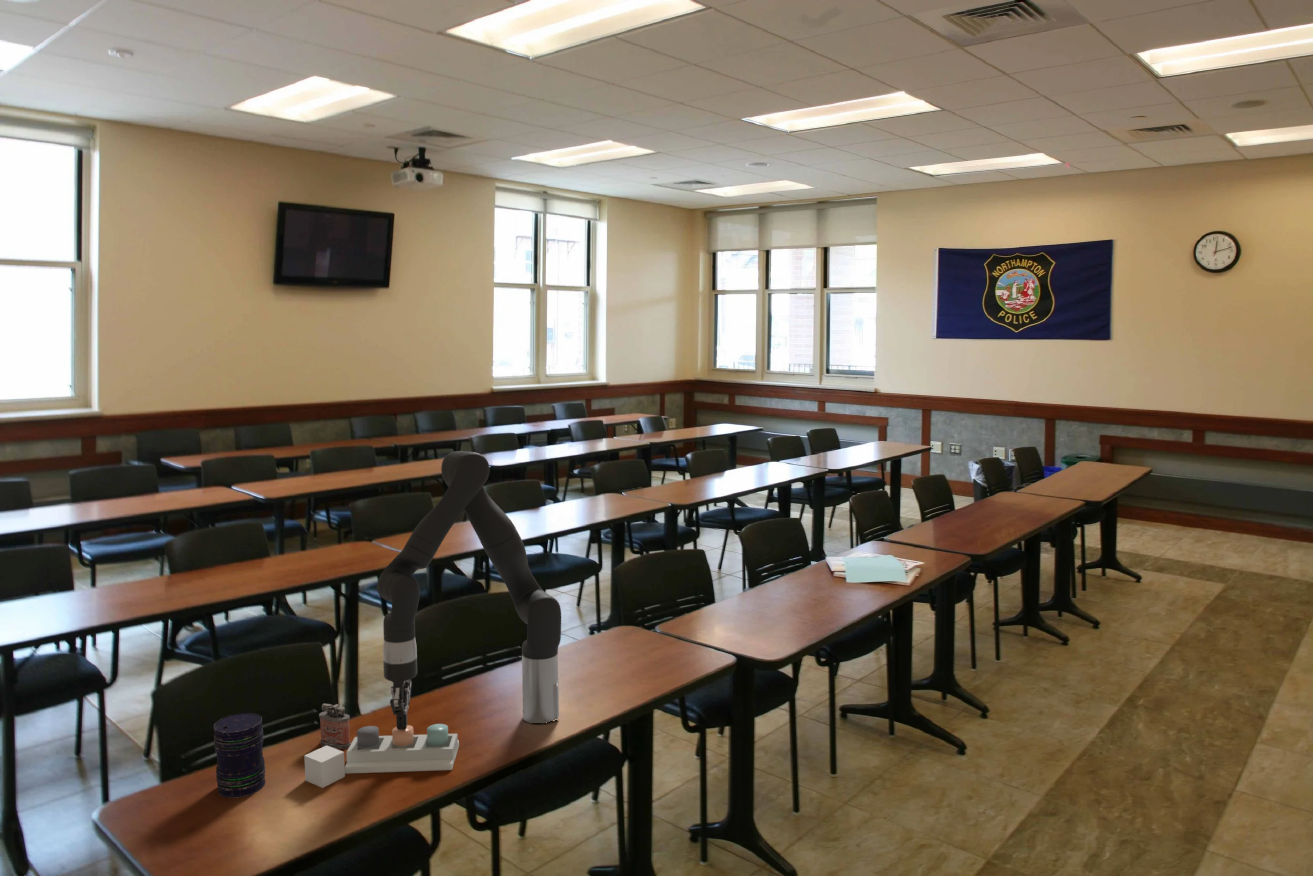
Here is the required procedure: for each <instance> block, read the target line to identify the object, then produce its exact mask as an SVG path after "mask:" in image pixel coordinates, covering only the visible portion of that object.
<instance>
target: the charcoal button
mask: <svg viewBox="0 0 1313 876" xmlns="http://www.w3.org/2000/svg"><path fill="white" fill-rule="evenodd" d="M379 736H380V731H379V727H378V726H376V725H367V726H366V725H365V726H362V727H361V728H359V729H357V731H356V737H357V743H358V746H360V747H372V746H375V745H377V744H378V743H379Z"/></svg>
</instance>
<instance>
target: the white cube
mask: <svg viewBox="0 0 1313 876" xmlns="http://www.w3.org/2000/svg"><path fill="white" fill-rule="evenodd" d="M345 766H346V764H345V752H344V751H342V750H340V749H338V748H332V747H330V746H327V745H326V746H324V745H323V746H322V747H321V748H318V749H315V750H313V751H311V752H309V753H307V754H304V777H305V778H304V779H305V781H306V782H308V783H310V784H313V785H314V786H317V787H319V788H322V789H324V788H325V787H327V786H330V785H331V784H333V783H335V782H337V781H339V780H341V779H344V778H346V774H345Z"/></svg>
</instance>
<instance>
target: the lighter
mask: <svg viewBox="0 0 1313 876" xmlns="http://www.w3.org/2000/svg"><path fill="white" fill-rule="evenodd" d="M321 710H322V712H320V713H319V714H318V717H319V720H320V721H319V722H320V724H319V725H320V740H319V741H320V743H319V744H320V745H322V746H323V747H324V746H326V745H327V746H330V747H332V748H335V749H338V750H340V749H343V750H345V749H349V747H350V745H351V743H352V742H351V739H350V737H351V734H350V719H351V716H350V714H347V713H345V710H346V708H345V707H344V706H340V704H338V703H336V704H334V705H333V704H331V703H322V705H321Z"/></svg>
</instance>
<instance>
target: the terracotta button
mask: <svg viewBox="0 0 1313 876" xmlns="http://www.w3.org/2000/svg"><path fill="white" fill-rule="evenodd" d="M414 735H415V733H414V726H412V725H409V724H408V725H407V727H406V729H400V730H399V729H397V726H395V727H393V728H392V730H391V736H392V741H393V745H395V746H406V745H409V744H411V743H413V741H414Z"/></svg>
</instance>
